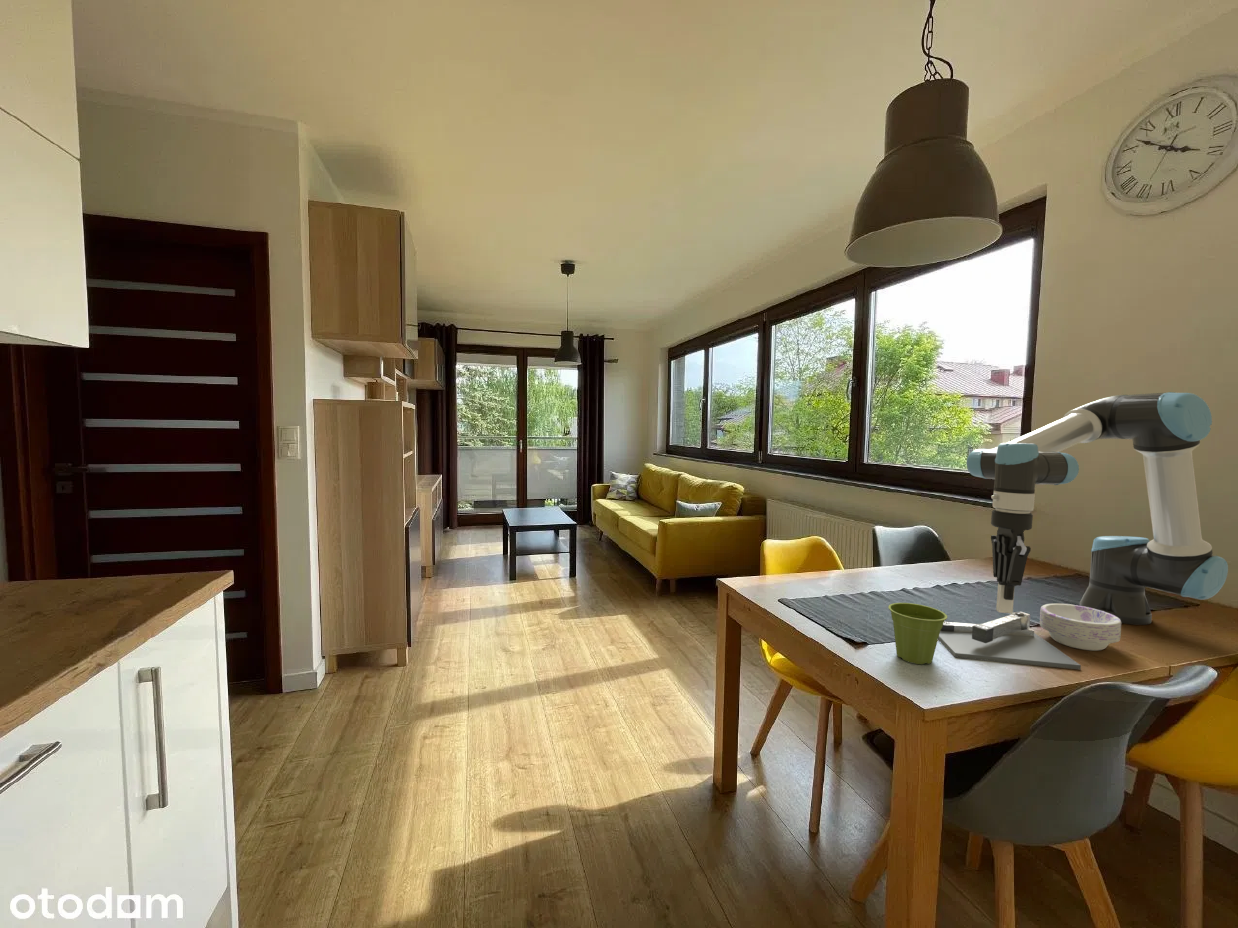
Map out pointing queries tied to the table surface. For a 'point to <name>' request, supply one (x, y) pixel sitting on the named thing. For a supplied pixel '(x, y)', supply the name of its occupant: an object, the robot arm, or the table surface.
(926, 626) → the plant pot
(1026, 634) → the arm
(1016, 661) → the board
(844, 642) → the table surface
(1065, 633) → the paper bowls
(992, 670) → the table surface
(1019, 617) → the bar
